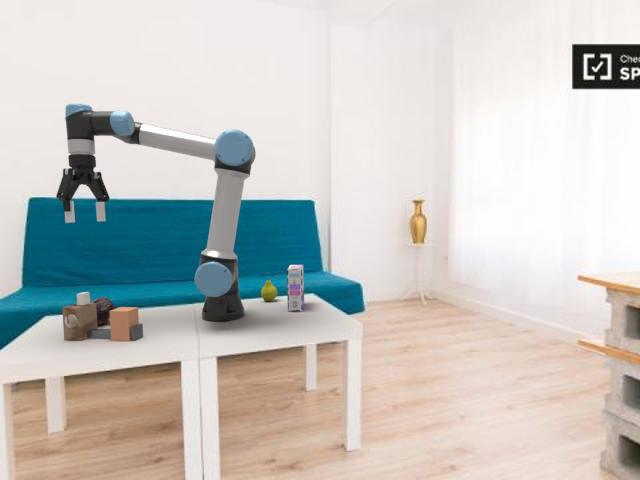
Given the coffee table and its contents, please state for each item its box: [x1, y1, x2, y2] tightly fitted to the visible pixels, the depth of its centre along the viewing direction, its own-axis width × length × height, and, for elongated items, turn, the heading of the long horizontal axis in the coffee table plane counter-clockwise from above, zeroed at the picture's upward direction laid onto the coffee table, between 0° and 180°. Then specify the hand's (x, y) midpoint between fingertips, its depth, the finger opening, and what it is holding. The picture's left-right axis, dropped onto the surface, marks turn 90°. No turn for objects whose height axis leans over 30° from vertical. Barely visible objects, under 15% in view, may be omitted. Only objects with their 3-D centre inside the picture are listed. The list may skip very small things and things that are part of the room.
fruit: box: [260, 273, 278, 302], centre depth 176 cm, size 7×7×12 cm
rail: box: [87, 323, 144, 342], centre depth 127 cm, size 18×4×4 cm, turn 81°
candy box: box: [286, 264, 305, 312], centre depth 162 cm, size 14×6×16 cm, turn 179°
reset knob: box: [76, 291, 91, 305], centre depth 128 cm, size 2×3×4 cm, turn 171°
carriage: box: [109, 306, 140, 342], centre depth 126 cm, size 6×5×9 cm
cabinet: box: [62, 302, 99, 342], centre depth 128 cm, size 6×8×10 cm
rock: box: [90, 296, 115, 327], centre depth 144 cm, size 12×9×10 cm
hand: (86, 222), depth 132 cm, fingers open, 13 cm apart
